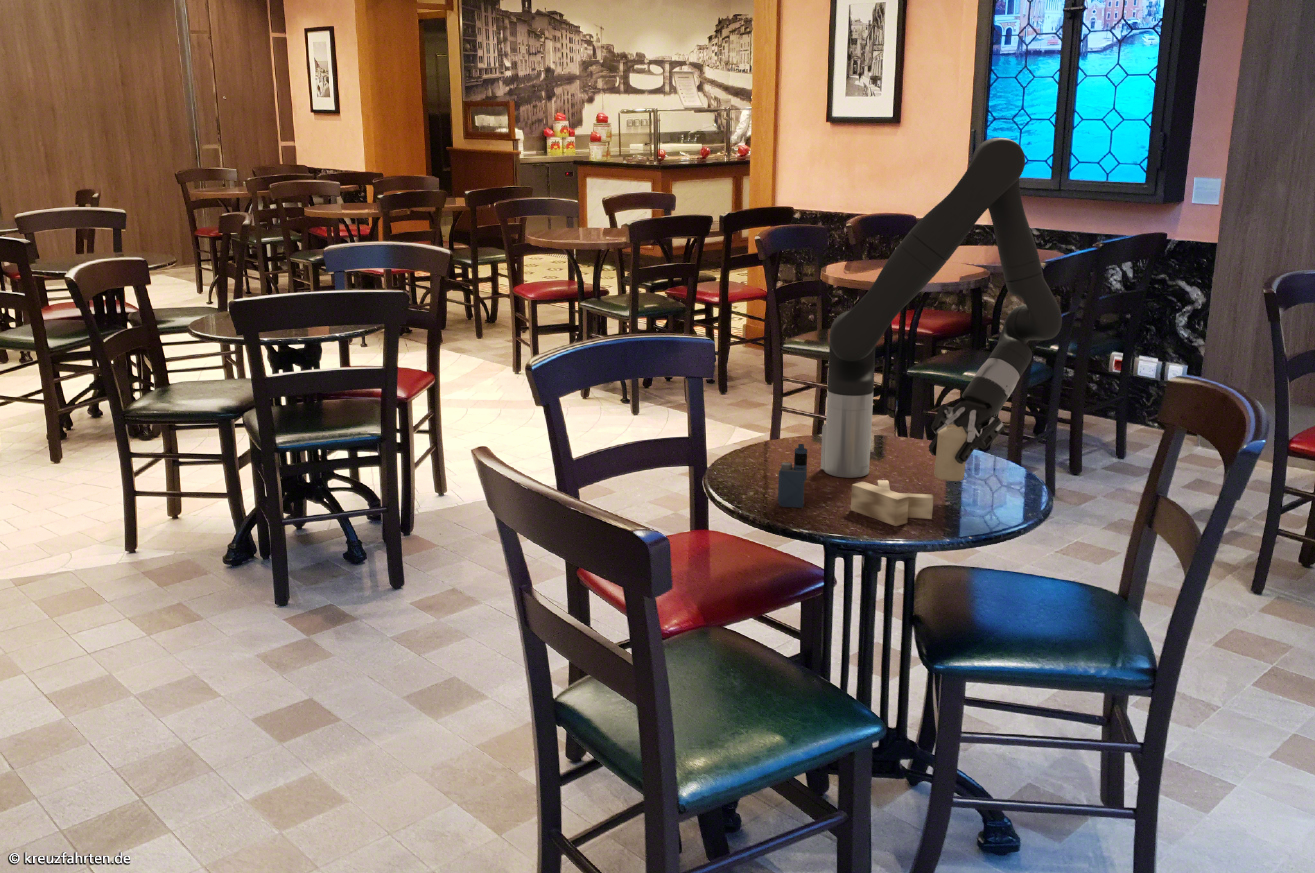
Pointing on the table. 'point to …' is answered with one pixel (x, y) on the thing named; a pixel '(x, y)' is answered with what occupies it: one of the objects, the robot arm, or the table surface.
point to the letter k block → (889, 503)
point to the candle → (950, 453)
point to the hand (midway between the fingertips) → (945, 456)
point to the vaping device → (793, 480)
